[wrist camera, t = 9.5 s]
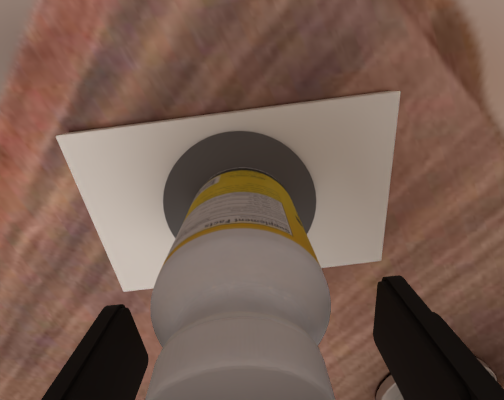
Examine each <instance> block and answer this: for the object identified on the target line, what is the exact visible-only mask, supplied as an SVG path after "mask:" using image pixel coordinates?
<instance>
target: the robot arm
mask: <svg viewBox="0 0 504 400" xmlns="http://www.w3.org/2000/svg"><path fill="white" fill-rule="evenodd" d="M373 337H374V341H375V343H376V346H377V348H378V350H379V352H380V353H381V355H382V357H383V359H384V361H385V363H386V365H387V367H388V369H389V371H390V373H391V375H390V376H388V377H387V378H386V379H385V380H384V382H383V383H382V384H381V385H380V387H379V389H378V391H377V394H376V400H504V389H503V388H502V387H501V386H500V385H499V383H498V382H497V378H496V376H495V374H494V373H493V371H492V370H491V369H490V368H489V367H488V366H487V365H486V364H485V363H484V362H483V361H481V360H480V359H478V358H476V357H475V356H474V355H473V353H472V352H471V351H470V350H469V349H468V348H467V346H466V345H465V344H464V343H463V342H462V341H461V339H460V338H459V337H458V336H457V335H456V334H455V333H454V331H453V330H452V329H451V328H450V327H449V326H448V324H447V323H446V322H445V321H444V320H443V319H442V318H441V317H440V316H439V315H438V314H436V313H435V312H432V311H431V310H430V309H429V308H428V307H427V305H426V304H425V303H424V302H423V301H422V299H421V298H420V297H419V296H418V295H417V294H416V292H415V291H414V290H413V289H412V288H411V286H410V285H409V284H408V283H407V282H406V280H405V279H404V278H403V277H402V276H400V275H399V276H390V277H383V278H382V282H378V285H377V296H376V307H375V318H374V329H373ZM147 365H148V354H147V351H146V349H145V347H144V344H143V342H142V339H141V337H140V334H139V332H138V330H137V327H136V325H135V322H134V320H133V317H132V315H131V313H130V310H129V309H128V308H125V306H124V305H123V304H119V305H110V306H106V307H104V308H103V310H102V311H101V313H100V314H99V315H98V317H97V318H96V320H95V321H94V323H93V324H92V326H91V327H90V329H89V330H88V332H87V333H86V335H85V336H84V338H83V339H82V340H81V342H80V343H79V345H78V346H77V348H76V349H75V351H74V352H73V354H72V355H71V357H70V358H69V360H68V361H67V363H66V364H65V365H64V367H63V368H62V370H61V371H60V373H59V374H58V376H57V377H56V379H55V380H54V382H53V383H52V385H51V386H50V388H49V389H48V390H47V392H46V393H45V395H44V396H43V398H42V399H41V400H135V398H136V395H137V392H138V390H139V387H140V384H141V382H142V379H143V376H144V374H145V371H146V368H147Z"/></svg>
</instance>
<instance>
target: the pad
mask: <svg viewBox="0 0 504 400" xmlns="http://www.w3.org/2000/svg"><path fill="white" fill-rule="evenodd" d="M239 167H245V168H253V169H258V170H261V171H263V172H265V173H268V174H269V175H271V176H273V177H274V178H275V179H277V180H278V181H279V182H280V183H281V184H282V185H283V186H284V188H285V189H286V191H287V192H288V194H289V196H290V198H291V200H292V202H293V205H294V207H295V209H296V211H297V214H298V216H299V218H300V220H301V223H302V225H303V227H304V230H305V232H306V234H307V233H308V231H309V229H310V228H311V225H312V222H313V220H314V216H315V211H316V191H315V187H314V183H313V180H312V177H311V175H310V173H309V171H308V169H307V168H306V166H305V164H304V163H303V162H302V161H301V159H300V158H299V157H298V156H297V155H296V154H295V153H294V152H293V151H292V150H291V149H290V148H289V147H287V146H286V145H284V144H283V143H282V142H280V141H278V140H276V139H274V138H272V137H269V136H266V135H264V134H260V133H255V132H249V131H229V132H224V133H219V134H216V135H213V136H210V137H207V138H205V139H203V140H201V141H199V142H198V143H196V144H195V145H193V146H192V147H190V148H189V149H188V150H187V151H186V152H185V153H184V154H183V155H182V156H181V157H180V158H179V160H178V161H177V162H176V163H175V165H174V166H173V168H172V170H171V171H170V173H169V175H168V178H167V181H166V184H165V188H164V194H163V208H164V214H165V219H166V221H167V224H168V227H169V229H170V231H171V232H172V234H173V236H174V237H175V239H176V237H177V235H178V232H179V230H180V228H181V226H182V224H183V222H184V220H185V218H186V215H187V213H188V211H189V209H190V206H191V204H192V202H193V200H194V197H195V196H196V194H197V192H198V190H199V189H200V188H201V186H202V185H203V184H204V183H205V182H206V181H207V180H209V179H210V178H211V177H212V176H214V175H216V174H217V173H220V172H222V171H224V170H228V169H232V168H239Z"/></svg>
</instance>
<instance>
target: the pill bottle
mask: <svg viewBox="0 0 504 400" xmlns="http://www.w3.org/2000/svg"><path fill="white" fill-rule="evenodd" d="M330 312H331V300H330V292H329V288H328V284H327V282H326V279H325V276H324V273H323V271H322V269H321V266H320V264H319V262H318V259H317V257H316V255H315V252H314V250H313V248H312V246H311V243H310V241H309V239H308V237H307V234H306V232H305V230H304V227H303V225H302V223H301V220H300V218H299V216H298V214H297V211H296V209H295V207H294V205H293V202H292V200H291V198H290V196H289V194H288V192H287V191H286V189H285V188H284V186H283V185H282V184H281V183H280V182H279V181H278V180H277V179H275V178H274V177H273V176H271V175H269V174H268V173H265V172H263V171H261V170H258V169H253V168H245V167H239V168H232V169H228V170H224V171H222V172H220V173H217V174H216V175H214V176H212V177H211V178H210V179H209V180H207V181H206V182H205V183H204V184H203V185H202V186H201V188H200V189H199V190H198V192H197V194H196V196H195V197H194V200H193V202H192V204H191V206H190V209H189V211H188V213H187V215H186V218H185V220H184V222H183V224H182V226H181V228H180V230H179V232H178V235H177V237H176V239H175V241H174V243H173V245H172V247H171V249H170V251H169V253H168V255H167V257H166V259H165V261H164V264H163V266H162V268H161V270H160V272H159V275H158V277H157V280H156V282H155V285H154V288H153V292H152V297H151V319H152V324H153V328H154V331H155V334H156V336H157V338H158V340H159V342H160V344H161V346H162V347H163V349H162V351H161V353H160V355H159V356H158V359H157V361H156V363H155V366H154V370H153V374H152V377H151V381H150V385H149V388H148V392H147V395H146V399H145V400H335V397H334V393H333V390H332V386H331V383H330V380H329V376H328V373H327V369H326V366H325V362H324V359H323V357H322V355H321V353H320V350H319V348H318V344H319V343H320V342H321V340H322V338H323V336H324V334H325V332H326V329H327V326H328V323H329V318H330Z"/></svg>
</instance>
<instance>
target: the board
mask: <svg viewBox="0 0 504 400" xmlns="http://www.w3.org/2000/svg"><path fill="white" fill-rule="evenodd" d="M400 93H401V91H384V92H376V93H368V94H361V95H353V96H345V97H338V98H330V99H322V100H315V101H307V102H299V103H292V104H284V105H276V106H269V107H261V108H253V109H246V110H238V111H230V112H223V113H215V114H207V115H200V116H192V117H184V118H177V119H169V120H161V121H154V122H146V123H138V124H130V125H123V126H115V127H107V128H100V129H92V130H84V131H77V132H69V133H65V134H61V135H57V136H56V138H57V141H58V143H59V145H60V148H61V150H62V152H63V154H64V157H65V159H66V161H67V164H68V166H69V168H70V170H71V173H72V175H73V177H74V180H75V182H76V184H77V186H78V189H79V191H80V193H81V196H82V198H83V200H84V202H85V205H86V207H87V209H88V212H89V214H90V216H91V218H92V221H93V223H94V225H95V228H96V230H97V232H98V234H99V237H100V239H101V241H102V244H103V246H104V248H105V250H106V253H107V255H108V257H109V260H110V262H111V264H112V266H113V269H114V271H115V273H116V276H117V278H118V280H119V282H120V285H121V287H122V289H123V292H126V291H134V290H143V289H151V288H154V285H155V282H156V280H157V277H158V275H159V272H160V270H161V268H162V266H163V264H164V261H165V259H166V257H167V255H168V253H169V251H170V249H171V247H172V245H173V243H174V241H175V237H174V236H173V234H172V232H171V231H170V229H169V227H168V224H167V221H166V219H165V214H164V208H163V194H164V188H165V184H166V181H167V178H168V175H169V173H170V171H171V170H172V168H173V166H174V165H175V163H176V162H177V161H178V160H179V158H180V157H181V156H182V155H183V154H184V153H185V152H186V151H187V150H188V149H189V148H190V147H192V146H193V145H195V144H196V143H198V142H199V141H201V140H203V139H205V138H207V137H210V136H213V135H216V134H219V133H224V132H229V131H249V132H255V133H260V134H264V135H266V136H269V137H272V138H274V139H276V140H278V141H280V142H282V143H283V144H284V145H286V146H287V147H289V148H290V149H291V150H292V151H293V152H294V153H295V154H296V155H297V156H298V157H299V158H300V159H301V161H302V162H303V163H304V164H305V166H306V168H307V169H308V171H309V173H310V175H311V177H312V180H313V183H314V187H315V191H316V211H315V216H314V220H313V222H312V225H311V228H310V229H309V231H308V233H307V237H308V239H309V241H310V243H311V246H312V248H313V250H314V252H315V255H316V257H317V259H318V262H319V264H320V266H321V268H326V267H334V266H343V265H351V264H359V263H368V262H376V261H381V258H382V249H383V240H384V232H385V223H386V214H387V206H388V197H389V188H390V180H391V171H392V162H393V154H394V145H395V136H396V128H397V119H398V110H399V102H400Z"/></svg>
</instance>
